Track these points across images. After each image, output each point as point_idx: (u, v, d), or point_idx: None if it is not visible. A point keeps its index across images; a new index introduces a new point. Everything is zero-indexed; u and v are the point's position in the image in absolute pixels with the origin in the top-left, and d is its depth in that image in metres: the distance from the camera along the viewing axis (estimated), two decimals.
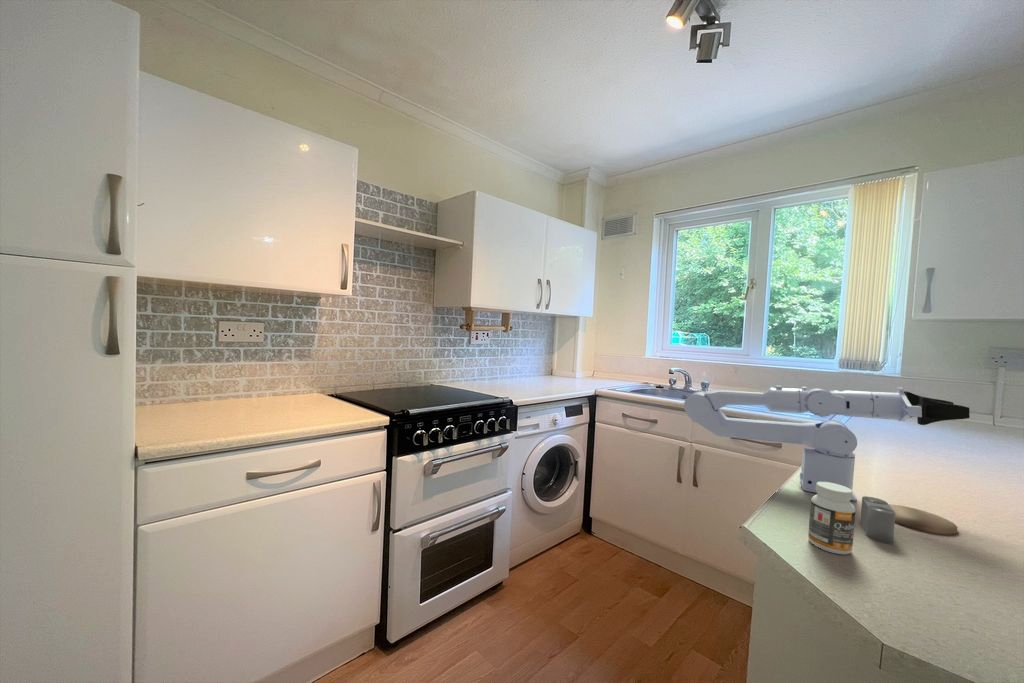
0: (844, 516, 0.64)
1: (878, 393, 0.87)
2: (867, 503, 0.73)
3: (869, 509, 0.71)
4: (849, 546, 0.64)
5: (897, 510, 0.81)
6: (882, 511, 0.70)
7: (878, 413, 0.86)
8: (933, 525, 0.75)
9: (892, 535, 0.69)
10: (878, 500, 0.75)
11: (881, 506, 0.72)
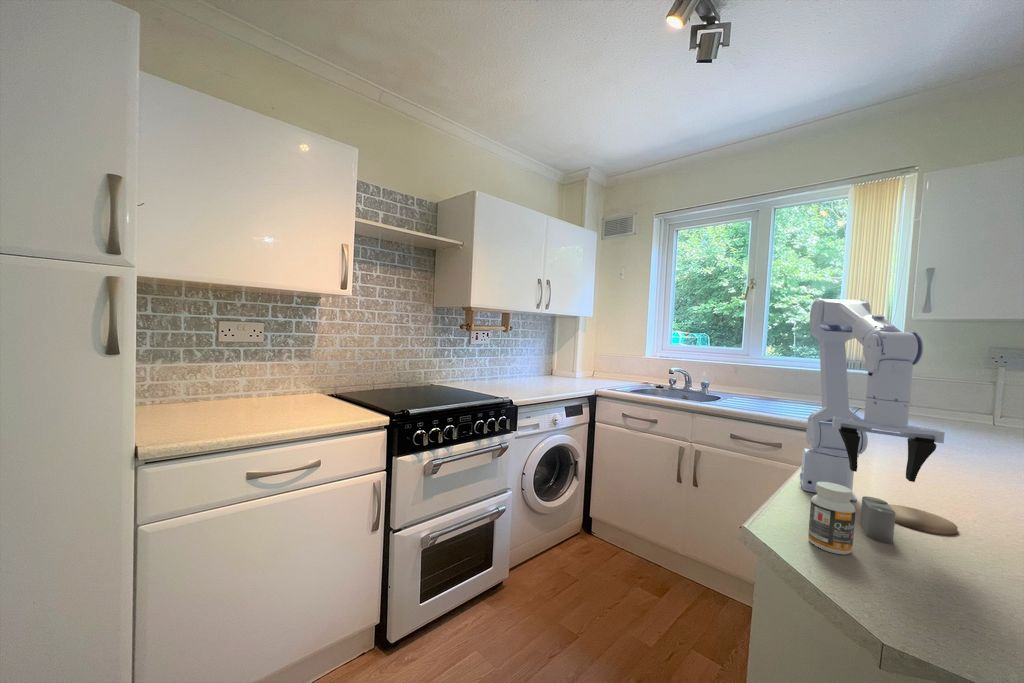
0: (844, 516, 0.64)
1: (883, 406, 0.70)
2: (867, 503, 0.73)
3: (869, 509, 0.71)
4: (849, 546, 0.64)
5: (897, 510, 0.81)
6: (882, 511, 0.70)
7: None
8: (933, 525, 0.75)
9: (892, 535, 0.69)
10: (878, 500, 0.75)
11: (881, 506, 0.72)
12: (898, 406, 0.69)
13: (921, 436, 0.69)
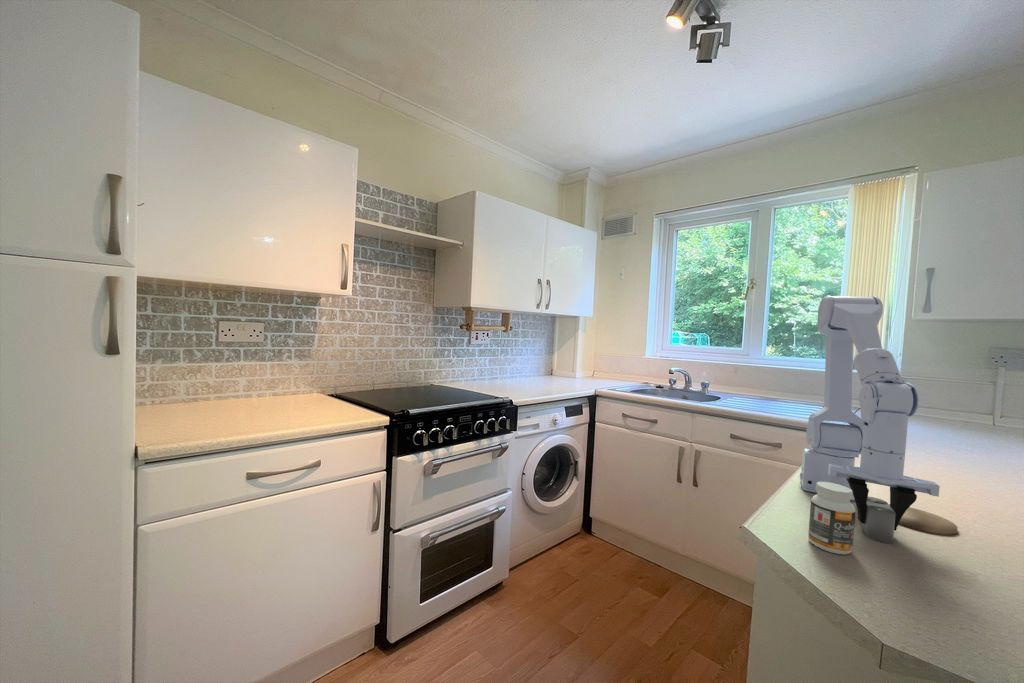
0: (844, 516, 0.64)
1: (878, 457, 0.70)
2: (867, 503, 0.73)
3: (869, 509, 0.71)
4: (849, 546, 0.64)
5: None
6: (882, 510, 0.70)
7: None
8: (933, 525, 0.75)
9: (892, 535, 0.69)
10: (878, 500, 0.75)
11: (881, 506, 0.72)
12: (893, 458, 0.69)
13: (916, 488, 0.70)
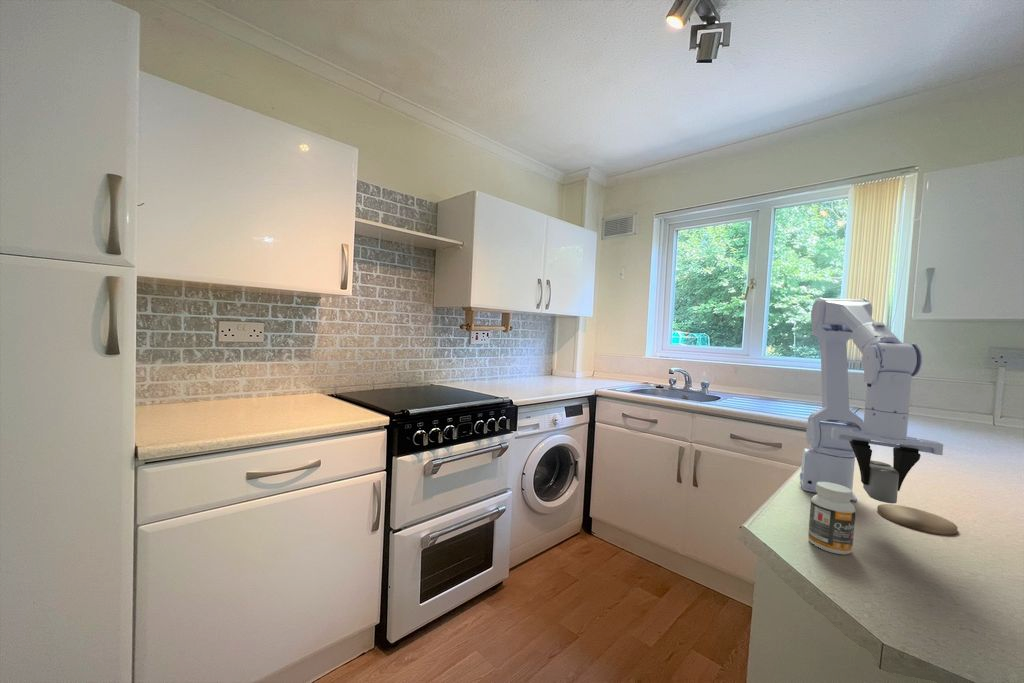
0: (844, 516, 0.64)
1: (882, 417, 0.70)
2: (870, 465, 0.73)
3: (872, 470, 0.71)
4: (849, 546, 0.64)
5: (897, 510, 0.81)
6: (886, 471, 0.70)
7: None
8: (933, 525, 0.75)
9: (896, 495, 0.69)
10: (881, 463, 0.74)
11: (884, 468, 0.72)
12: (897, 418, 0.69)
13: (920, 448, 0.69)
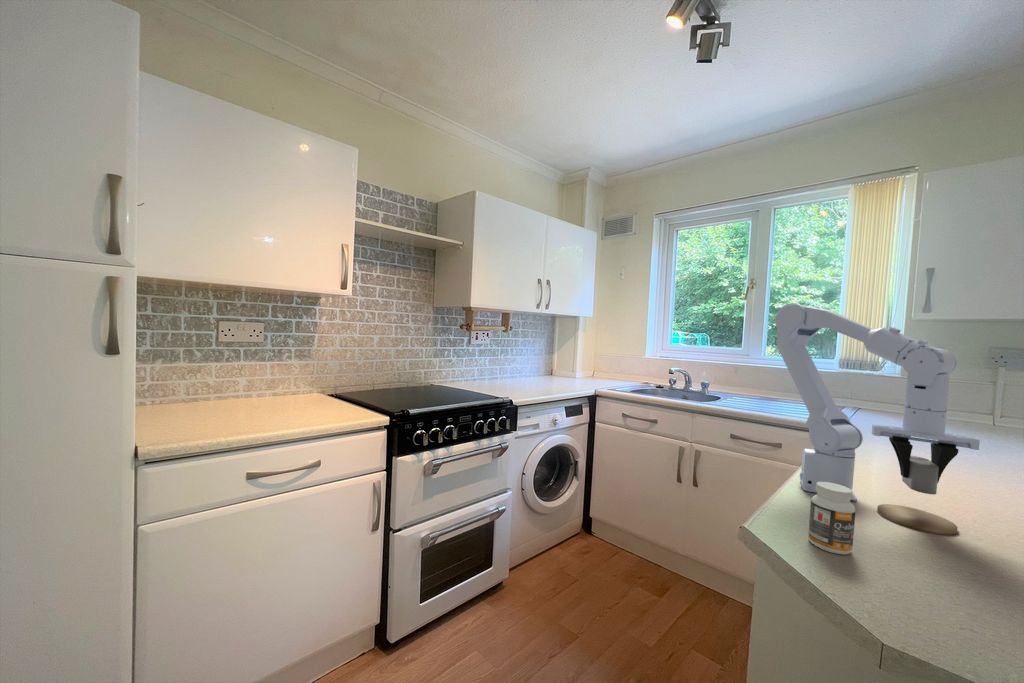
0: (844, 516, 0.64)
1: (922, 415, 0.76)
2: (910, 459, 0.79)
3: (913, 464, 0.77)
4: (849, 546, 0.64)
5: (897, 510, 0.81)
6: (926, 465, 0.76)
7: None
8: (933, 525, 0.75)
9: (936, 487, 0.75)
10: (919, 458, 0.80)
11: (924, 462, 0.78)
12: (936, 416, 0.75)
13: (957, 443, 0.75)
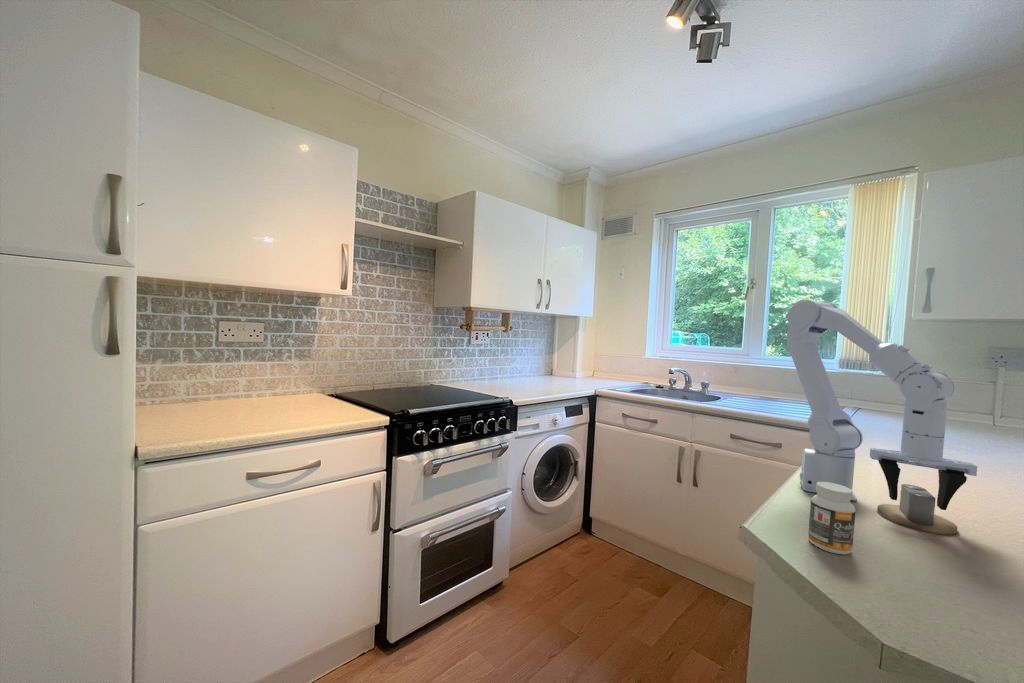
0: (844, 516, 0.64)
1: (919, 441, 0.76)
2: (907, 489, 0.79)
3: (910, 495, 0.77)
4: (849, 546, 0.64)
5: (897, 510, 0.81)
6: (923, 496, 0.76)
7: None
8: (933, 525, 0.75)
9: (932, 518, 0.75)
10: (917, 487, 0.81)
11: (921, 492, 0.78)
12: (934, 441, 0.75)
13: (955, 469, 0.76)
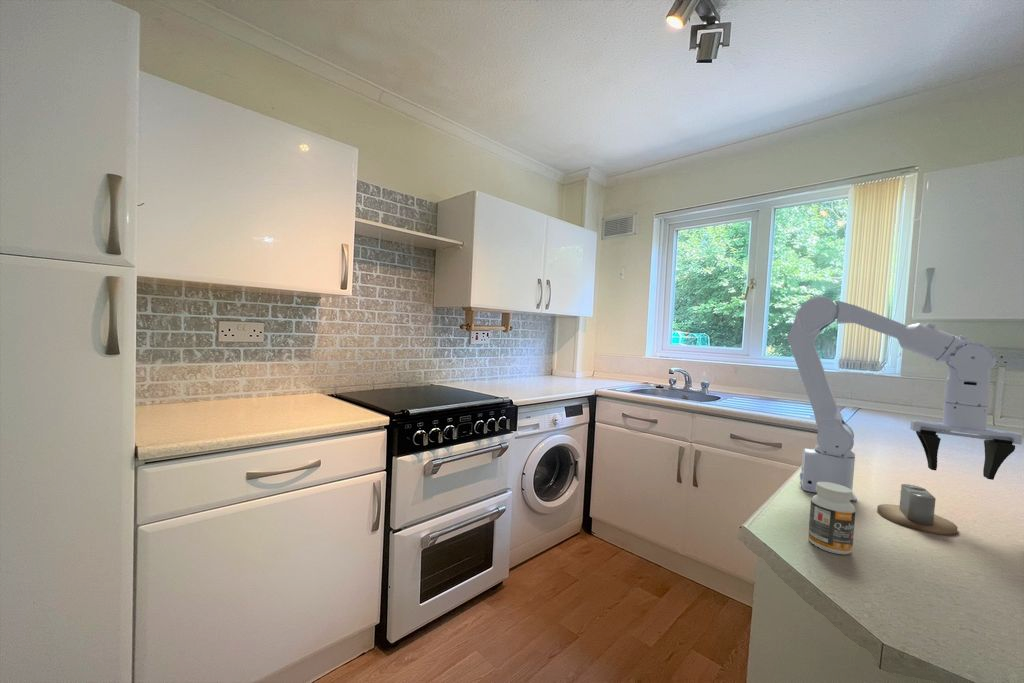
0: (844, 516, 0.64)
1: (963, 410, 0.77)
2: (907, 489, 0.79)
3: (910, 495, 0.77)
4: (849, 546, 0.64)
5: (897, 510, 0.81)
6: (923, 496, 0.76)
7: None
8: (933, 525, 0.75)
9: (932, 518, 0.75)
10: (917, 487, 0.81)
11: (921, 492, 0.78)
12: (978, 411, 0.76)
13: (999, 438, 0.76)
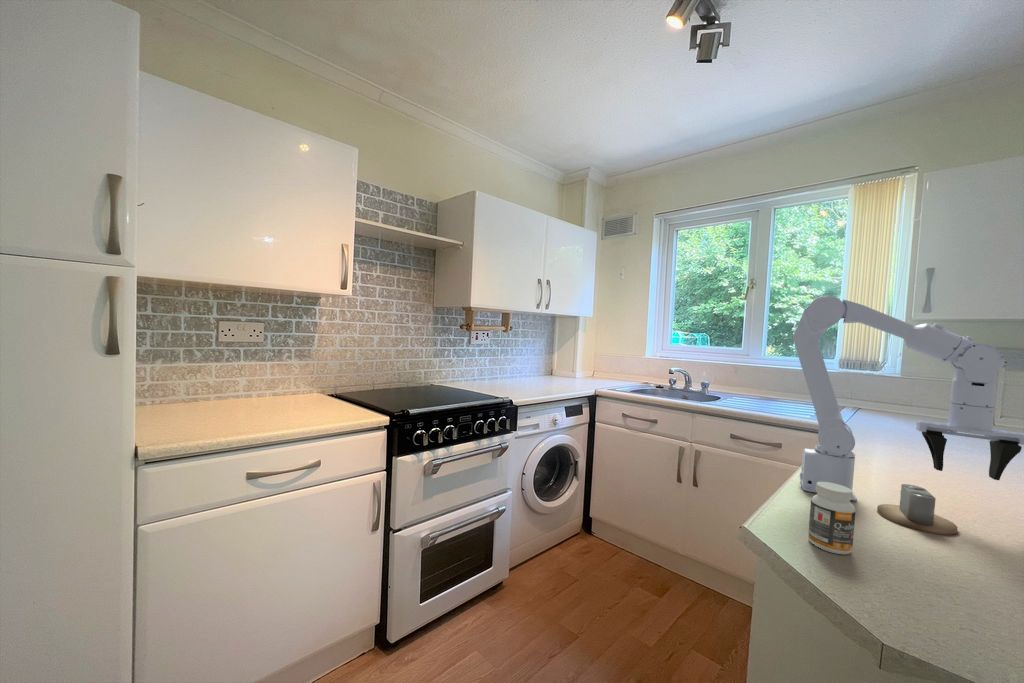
0: (844, 516, 0.64)
1: (969, 411, 0.77)
2: (907, 489, 0.79)
3: (910, 495, 0.77)
4: (849, 546, 0.64)
5: (897, 510, 0.81)
6: (923, 496, 0.76)
7: None
8: (933, 525, 0.75)
9: (932, 518, 0.75)
10: (917, 487, 0.81)
11: (921, 492, 0.78)
12: (984, 411, 0.76)
13: (1005, 438, 0.76)
